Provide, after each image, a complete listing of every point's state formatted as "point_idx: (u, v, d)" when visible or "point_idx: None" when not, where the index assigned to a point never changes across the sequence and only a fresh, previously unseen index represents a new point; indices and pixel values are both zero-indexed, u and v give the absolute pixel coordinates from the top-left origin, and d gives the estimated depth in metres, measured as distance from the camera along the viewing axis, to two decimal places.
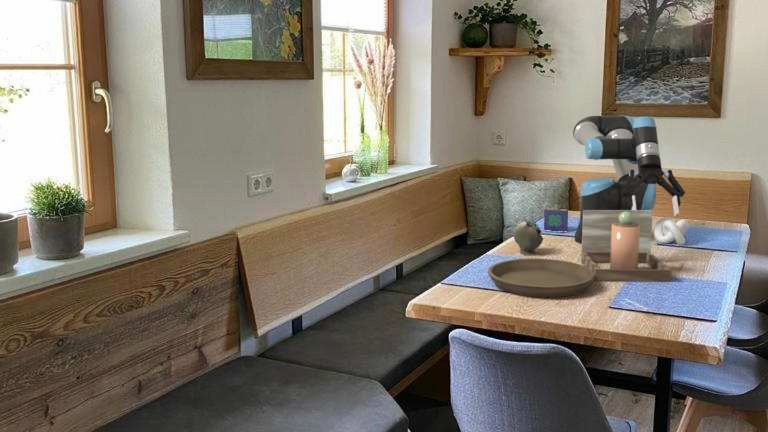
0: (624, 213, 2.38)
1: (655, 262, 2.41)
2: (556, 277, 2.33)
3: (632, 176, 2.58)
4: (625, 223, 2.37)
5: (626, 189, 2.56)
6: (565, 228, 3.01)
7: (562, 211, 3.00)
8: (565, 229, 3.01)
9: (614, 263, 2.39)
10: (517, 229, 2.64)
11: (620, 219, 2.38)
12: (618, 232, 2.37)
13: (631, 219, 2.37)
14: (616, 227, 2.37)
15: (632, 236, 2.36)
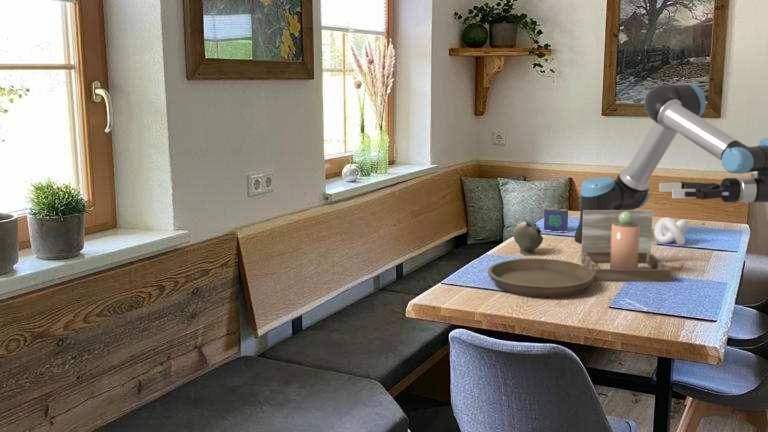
0: (624, 213, 2.38)
1: (655, 262, 2.41)
2: (556, 277, 2.33)
3: None
4: (625, 223, 2.37)
5: (705, 198, 2.27)
6: (565, 228, 3.01)
7: (562, 211, 3.00)
8: (565, 229, 3.01)
9: (614, 263, 2.39)
10: (517, 229, 2.64)
11: (620, 219, 2.38)
12: (618, 232, 2.37)
13: (631, 219, 2.37)
14: (616, 227, 2.37)
15: (632, 236, 2.36)
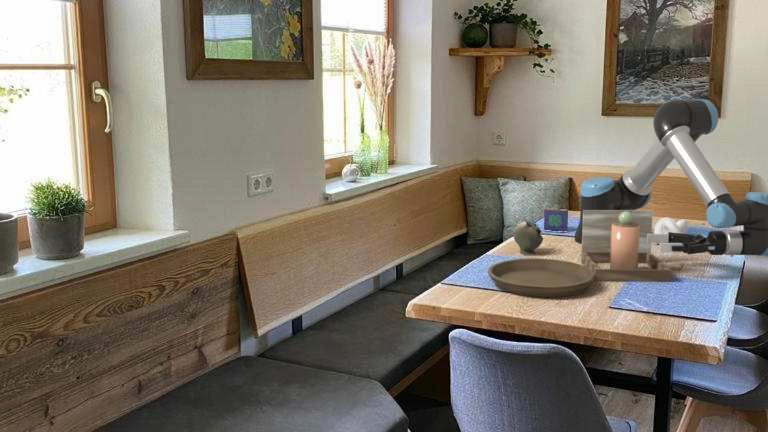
0: (624, 213, 2.38)
1: (655, 262, 2.41)
2: (556, 277, 2.33)
3: None
4: (625, 223, 2.37)
5: None
6: (565, 228, 3.01)
7: (562, 211, 3.00)
8: (565, 229, 3.01)
9: (614, 263, 2.39)
10: (517, 229, 2.64)
11: (620, 219, 2.38)
12: (618, 232, 2.37)
13: (631, 219, 2.37)
14: (616, 227, 2.37)
15: (632, 236, 2.36)
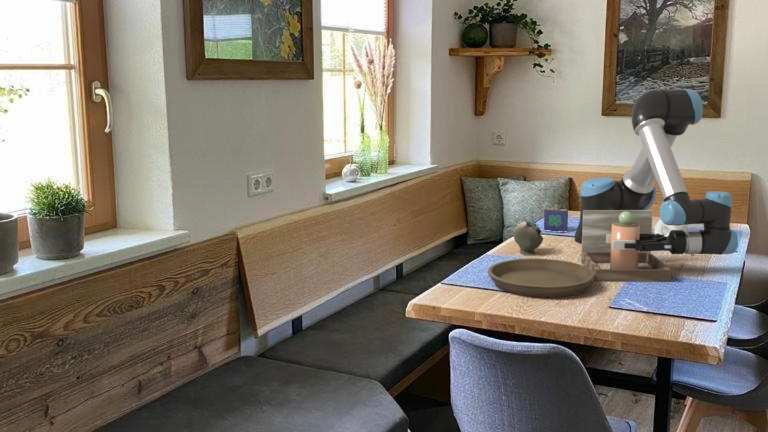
0: (624, 213, 2.38)
1: (655, 262, 2.41)
2: (556, 277, 2.33)
3: None
4: (625, 223, 2.37)
5: None
6: (565, 228, 3.01)
7: (562, 211, 3.00)
8: (565, 229, 3.01)
9: (614, 263, 2.39)
10: (517, 229, 2.64)
11: (620, 219, 2.38)
12: (618, 232, 2.37)
13: (631, 219, 2.37)
14: (616, 227, 2.37)
15: (632, 236, 2.36)
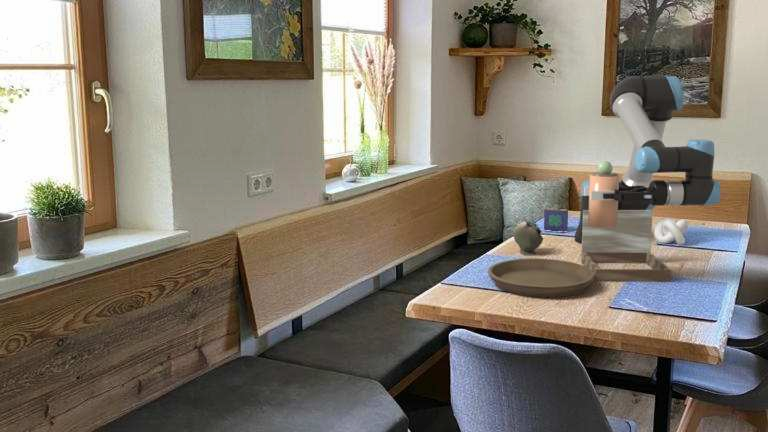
0: (603, 162, 2.27)
1: (655, 262, 2.41)
2: (556, 277, 2.33)
3: None
4: (604, 173, 2.27)
5: None
6: (565, 228, 3.01)
7: (562, 211, 3.00)
8: (565, 229, 3.01)
9: (593, 215, 2.28)
10: (517, 229, 2.64)
11: (599, 169, 2.27)
12: (596, 182, 2.26)
13: (610, 168, 2.26)
14: (594, 177, 2.26)
15: (611, 186, 2.25)
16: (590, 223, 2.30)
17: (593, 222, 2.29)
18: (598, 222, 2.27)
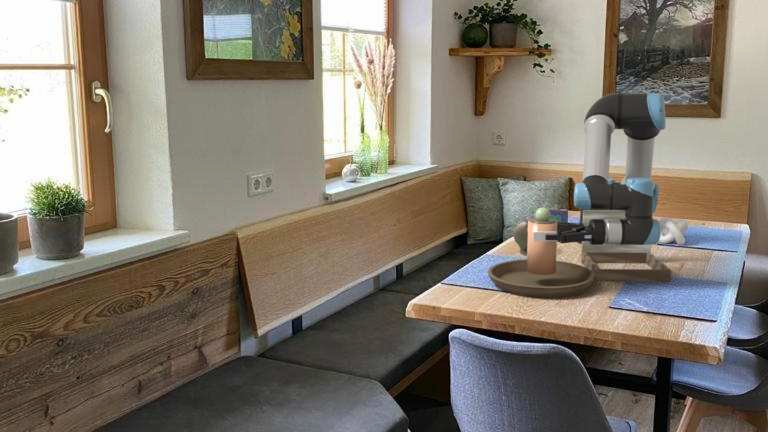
0: (540, 209, 2.23)
1: (655, 262, 2.41)
2: (556, 278, 2.33)
3: None
4: (541, 220, 2.23)
5: None
6: None
7: (562, 211, 3.00)
8: None
9: (530, 262, 2.25)
10: (517, 229, 2.64)
11: (536, 215, 2.24)
12: (533, 229, 2.22)
13: (547, 215, 2.22)
14: (531, 224, 2.23)
15: None
16: (528, 270, 2.26)
17: (530, 269, 2.25)
18: (535, 270, 2.24)
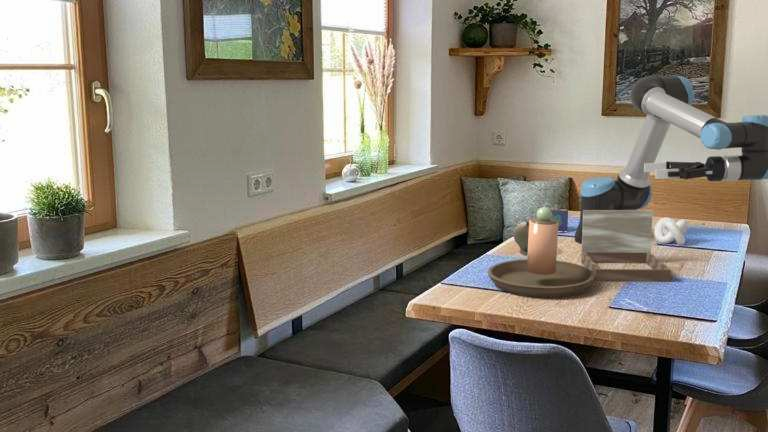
0: (541, 209, 2.22)
1: (655, 262, 2.41)
2: (556, 278, 2.33)
3: None
4: (542, 220, 2.22)
5: None
6: (565, 228, 3.01)
7: (562, 211, 3.00)
8: (565, 229, 3.01)
9: (529, 261, 2.25)
10: (517, 229, 2.64)
11: (537, 215, 2.23)
12: (533, 229, 2.22)
13: (548, 216, 2.21)
14: (532, 224, 2.22)
15: (547, 234, 2.20)
16: (527, 268, 2.27)
17: (529, 268, 2.25)
18: (533, 269, 2.24)
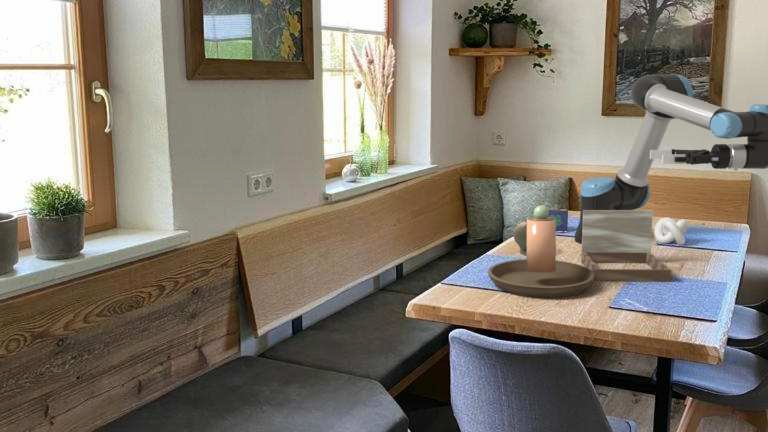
0: (538, 207, 2.25)
1: (655, 262, 2.41)
2: (556, 278, 2.33)
3: (708, 162, 2.30)
4: (538, 217, 2.24)
5: (694, 163, 2.28)
6: (565, 228, 3.01)
7: (562, 211, 3.00)
8: (565, 229, 3.01)
9: (528, 260, 2.26)
10: (517, 229, 2.64)
11: (534, 213, 2.25)
12: (530, 226, 2.24)
13: (545, 213, 2.24)
14: (528, 221, 2.25)
15: (543, 231, 2.22)
16: (527, 268, 2.27)
17: (528, 267, 2.26)
18: (532, 267, 2.25)
